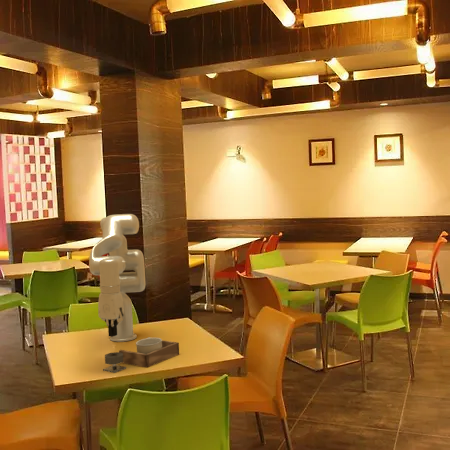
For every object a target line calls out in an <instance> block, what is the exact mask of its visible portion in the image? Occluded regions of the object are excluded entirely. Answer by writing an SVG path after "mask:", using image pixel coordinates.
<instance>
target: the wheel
mask: <svg viewBox="0 0 450 450" xmlns="http://www.w3.org/2000/svg"><path fill="white" fill-rule="evenodd" d="M122 362H123V353H119V351H117V352H108V353H106V354H104V364H105V365H109V366H112V365H113V364H117V365H119V364H123V363H122Z"/></svg>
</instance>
